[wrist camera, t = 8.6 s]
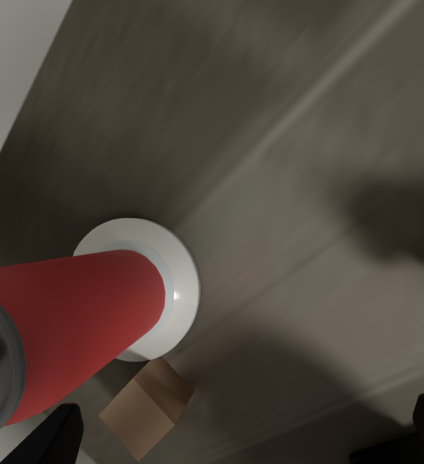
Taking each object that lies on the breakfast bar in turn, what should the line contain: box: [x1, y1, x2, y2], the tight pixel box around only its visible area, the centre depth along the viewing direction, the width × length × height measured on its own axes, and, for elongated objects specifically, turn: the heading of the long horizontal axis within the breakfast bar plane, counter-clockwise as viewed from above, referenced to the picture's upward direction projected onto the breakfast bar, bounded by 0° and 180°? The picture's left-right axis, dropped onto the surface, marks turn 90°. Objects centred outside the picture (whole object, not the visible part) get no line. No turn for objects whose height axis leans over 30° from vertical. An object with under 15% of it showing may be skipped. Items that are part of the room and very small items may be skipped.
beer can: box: [0, 249, 166, 428], centre depth 16 cm, size 7×7×12 cm
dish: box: [73, 218, 201, 362], centre depth 23 cm, size 11×11×1 cm
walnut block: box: [98, 356, 194, 462], centre depth 21 cm, size 4×4×4 cm
